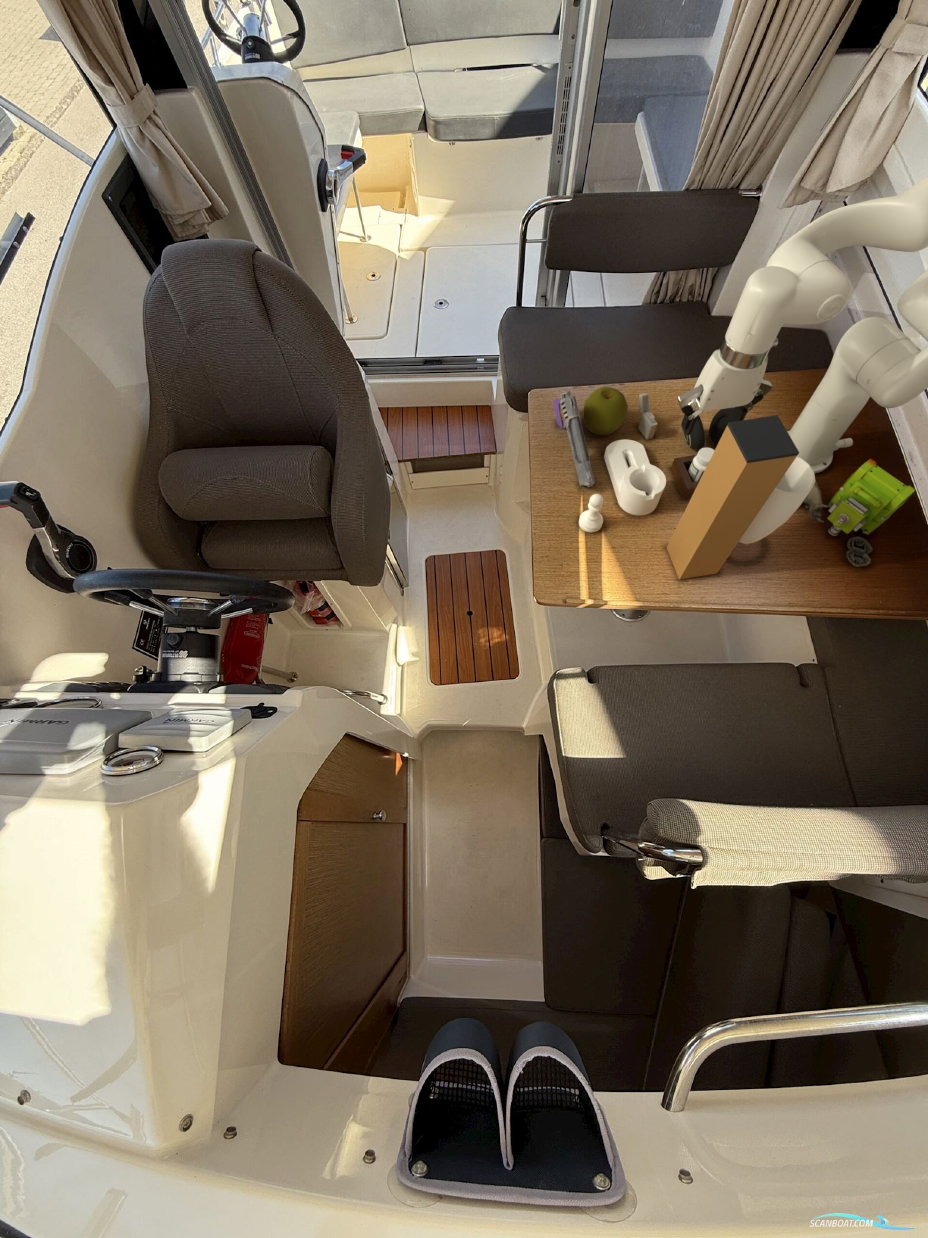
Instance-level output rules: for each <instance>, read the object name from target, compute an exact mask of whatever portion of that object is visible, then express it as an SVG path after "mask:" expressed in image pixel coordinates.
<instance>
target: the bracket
mask: <svg viewBox="0 0 928 1238" xmlns="http://www.w3.org/2000/svg"><path fill="white" fill-rule="evenodd" d="M603 459H604V462H605V465H606V469H607V471H608V474H609V478H610V481H611V485H612V487H613V492H614V494H615V497H616V500H617V503H618V506H619V507H620V508H621V509H622V510H623V511H624V512H626V513H627V514H630V515H633V516H646V515H649V514H651V513H653V512H654V511H655V510H656V508H657V506H658V504H659V502H660V499H661V497H662V495H663V492H664V490H665V487H666V484H667V478H666V475H665V473H664V471H662V469H660V468H659V467H657V466H656V465H653V464H651V463H650V460H649V457H648V454H647V452H646V449H645V446H644V445H643V444H642V443H641V442H638V441H636V440H632V439H617V440H615V441H613V442H611V443H609V444H608V445H607V446H606V447H605V450H604V455H603Z"/></svg>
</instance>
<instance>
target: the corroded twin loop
mask: <svg viewBox="0 0 928 1238" xmlns="http://www.w3.org/2000/svg"><path fill="white" fill-rule="evenodd" d="M854 545H855V546H854ZM846 546H847V549H848V550H846V556H845V557H846V558H847V561H848V562H849V563H850V564H851V565H853V566H854V567H856V568H859V567H866V566H869V565H870V564H871V563H872V562H871V561H872V559H871V557H870V556H869V555H870V554H871V553H872V552H873V551H874V548H873V547H872V545H871V543H870V541H868V540H867V539H866V538H864V537H862V536H860V535H859V536H852V537H850V538H849V539H848V540H847V543H846ZM859 547H863V548H864V549H863V548H859Z"/></svg>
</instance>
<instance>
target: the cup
mask: <svg viewBox="0 0 928 1238" xmlns="http://www.w3.org/2000/svg"><path fill="white" fill-rule="evenodd" d="M815 475H816V473H815V474H814V471H813V470H812V468H811V467H810V465H809V464H808V463H807V462H805V461H804V460H803V459H801V458H800V457H796V458H795V460H794V461H793V463H792V464H791V466H790V467H789V469H788V470H787V472H786V473H785V474H784V476H783V477H782V479H781V480H780V482H779V483H778V485H777V486H776V488H775V489H774V491H773V492H772V494H771V495H770V496H769V498H768V499H767V501H766V502H765V504H764V505H763V507H762V508H761V510H760V511H759V513H758V514H757V515H756V517H755V518H754V520H753V521H752V523H751V524H750V526H749V527H748V529H747V530H746V532H745V533H744V535H743V536H742V537H741V539H740V540H739V542H738V543H741V544H742V545H743V544H745V545H748V544H749V545H750V544H753V543H757V542H759V541H760V540H762V539H765V538H766V537H768V536H769V535H770V534H772V533H773V532H774V531H776V530H777V529H779V528H780V527H781V526H782V525H784V524H785V523H786V522H787V521H789V519H790V518H792V516H793V515H794V513H796V512H797V510H798V509H799V508H800V507H801V505H802V504H803V503H802V502H803V501H804V499H805V498H806V496H807V495H808V493H809V492H810V491H811V489H812V487H813V485H814V483H815V480H816V476H815Z"/></svg>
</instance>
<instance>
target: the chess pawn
mask: <svg viewBox="0 0 928 1238" xmlns="http://www.w3.org/2000/svg"><path fill="white" fill-rule="evenodd" d="M588 501H589V502H588V504H587V508H588V509H587V510H584V511H583V512H581V513H580V516H579V519H578V526H579V527H580V528H581V530H582V531H584V532H587V533H596V532H598V531H600V530H601V529H602V526H603V524H604V517H603V515H602V513H600V511H601V510H602V508H603V504H604V498H603V496H602V495H601V494H599V493H594V494H592V495H591V496H590V497H589V500H588Z"/></svg>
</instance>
